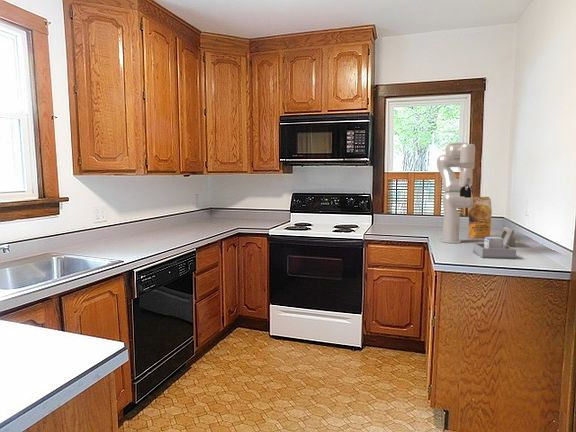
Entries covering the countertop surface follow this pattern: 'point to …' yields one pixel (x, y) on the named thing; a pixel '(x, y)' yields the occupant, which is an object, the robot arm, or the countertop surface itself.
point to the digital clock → (508, 237)
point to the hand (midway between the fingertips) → (465, 197)
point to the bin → (494, 252)
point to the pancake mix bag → (480, 217)
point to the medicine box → (493, 242)
